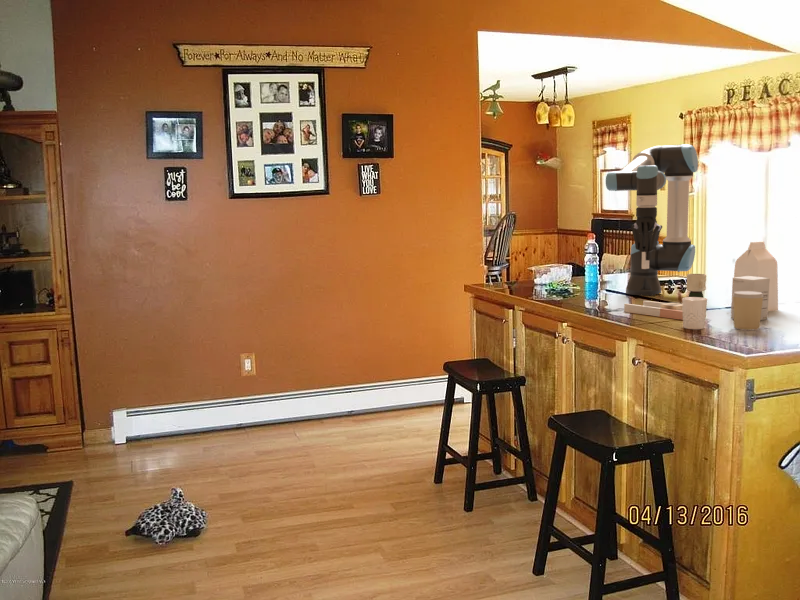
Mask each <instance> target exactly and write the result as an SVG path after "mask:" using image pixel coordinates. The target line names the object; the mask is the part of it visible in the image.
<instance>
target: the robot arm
mask: <svg viewBox="0 0 800 600" xmlns="http://www.w3.org/2000/svg"><path fill="white" fill-rule="evenodd" d="M698 166H699V160H698V153H697V150H696V147H695V146H694V145H692V144H684V143H683V144H671V145H670V144H669V145H667V144H666V145H655V146H651V147H648V148H645V149H643V150H641V151H640V152H638V153H636V154H635V155H634V157H632V159H631V161H630V162H629V163H627V164H626V165H625V166H623V167H622V168H621V169H620V170H618V171H609V172H608V173H607V174H606V176H605V187H606V189H607V190H608V191H611V192H612V191H614V192H620V191H621V192H623V191H627V192H628V191H636V197H635V199H636V202H635V205H636V208H635V211H636V212H635V217H636V220H635V223H634V224H630V226H629V227H630V229H631V231H632V235H633V241H634V243H633V244H632V245H631V247H630V269H629V271H630V272H629V273H630V277H629V279H628V282H627V285H626V288H625V293H626V294H627V295H633V296H656V295H655V294H659V293H661V294H662V287H661V284H660V280H659V277H658V274H659V273H658V271H661V272H679V273H680V272H689V271H690V270H691V268H692V267H693V263H694V261H695V257H696V256H695V255H696V245H695V244H693V243H692V240H691V238H690V237H688V234H689V227H688V226H689V199H690V198H689V196H690V194H689V193H690V180H691V179H692V178H693V177H694V173H696V172H698V169H699V168H698ZM666 183H667V204H666V212H667V213H666V237H664V238H663V240H662V243H661V244H660V242H659V237H660V234H661V230H662V229H663V225H660V224H659V223H658V221H657V216H658V207H657V205H658V190H660V189H663V188H664V186H665V185H666ZM659 295H660V294H659Z"/></svg>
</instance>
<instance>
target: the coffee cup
mask: <svg viewBox="0 0 800 600" xmlns="http://www.w3.org/2000/svg"><path fill="white" fill-rule="evenodd" d="M762 301H763V293H761V292H755V291H736V292H734V294H733V308H734V319H733V328H735V329H737V330H740V331H741V330H742V331H758V330H759V329H760V326H761V320H760V318H761V310H762Z"/></svg>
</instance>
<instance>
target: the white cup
mask: <svg viewBox="0 0 800 600" xmlns="http://www.w3.org/2000/svg"><path fill="white" fill-rule="evenodd" d="M707 303H708V298H706V297H703V298H701V297H689V296H687V297H682V298H681V304H682V313H683V320H682V325H683V328H684V329H688V330H703V329H705V325H706V323H705V322H706V318H707V317H706V316H707V306H708V305H707Z"/></svg>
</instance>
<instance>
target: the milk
mask: <svg viewBox="0 0 800 600" xmlns="http://www.w3.org/2000/svg"><path fill="white" fill-rule="evenodd" d="M733 272H734V274H733V278H734V277H743V276H754V277H763V278H770V281H769V298H768V312H773V311H774V312H775V311H778V310H779V295H778V294H779V292H778V291H779V287H778V286H779V283H778V281H779V279H778V262H777V259H776V258H775V256H773V255H772V254H771V253H770V252H769V251H768V250H767V249H766V245H765V241H762V240H761V241H750V243H749V245H748V248H747V250H745V251H744V252H743V253H742V254H741V255H740V256H739V257H737V259H736V261H735V263H734V271H733ZM731 305H732V302H731Z"/></svg>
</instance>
